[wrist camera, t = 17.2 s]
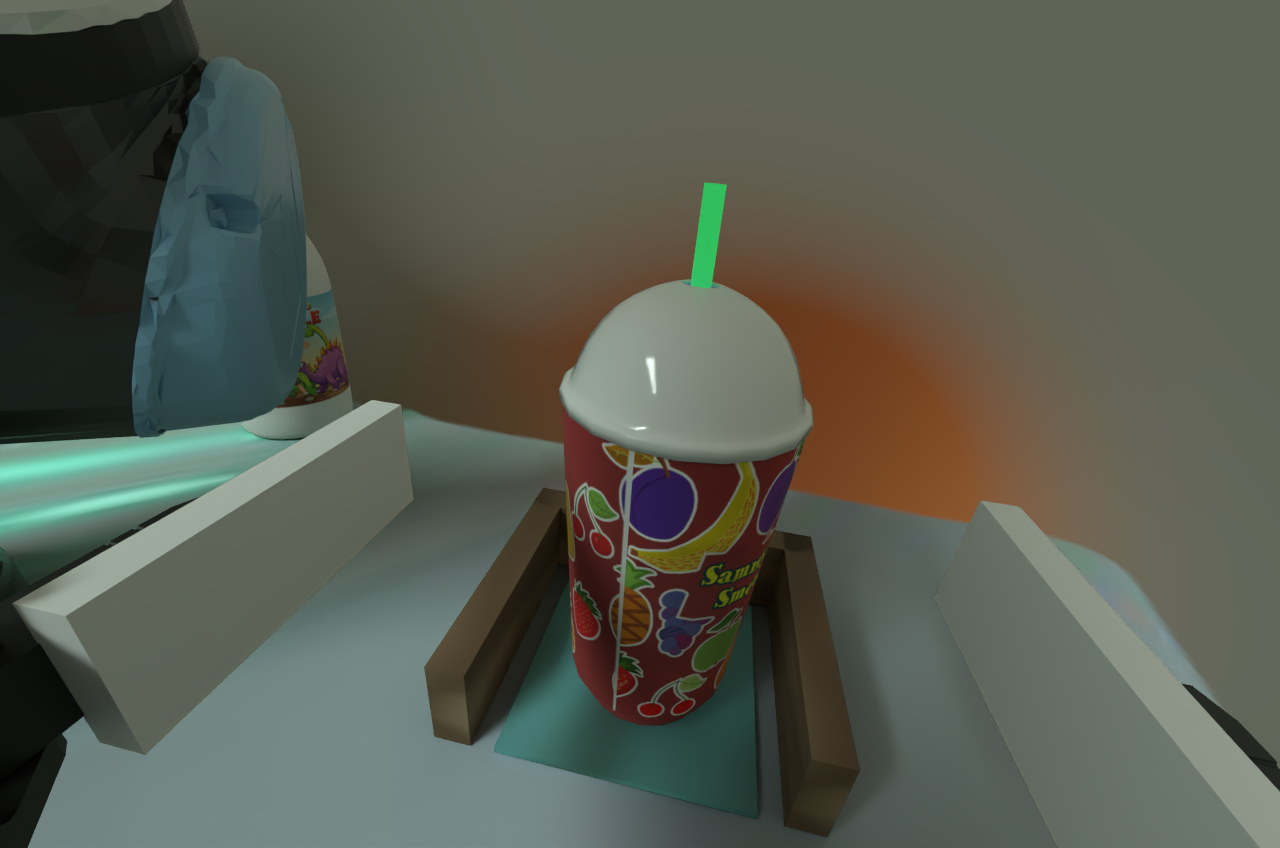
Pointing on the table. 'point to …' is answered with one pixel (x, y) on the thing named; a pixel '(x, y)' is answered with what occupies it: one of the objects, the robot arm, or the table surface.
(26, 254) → the robot arm
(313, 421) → the milk bottle
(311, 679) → the table surface
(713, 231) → the smoothie
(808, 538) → the holder
